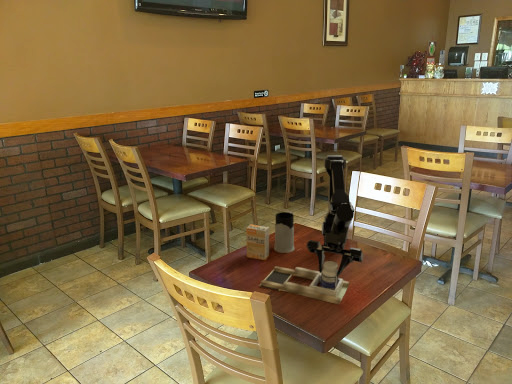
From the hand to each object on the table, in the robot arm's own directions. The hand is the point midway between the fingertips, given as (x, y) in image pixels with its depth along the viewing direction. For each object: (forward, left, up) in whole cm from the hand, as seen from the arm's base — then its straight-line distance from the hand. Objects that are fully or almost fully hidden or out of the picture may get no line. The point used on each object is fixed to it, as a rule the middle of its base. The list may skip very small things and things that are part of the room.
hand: (328, 274), depth 133 cm
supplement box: (-36, -3, -7) cm, 37 cm away
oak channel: (-8, -3, -7) cm, 11 cm away
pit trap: (-18, -8, -7) cm, 21 cm away
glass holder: (-37, +13, -7) cm, 40 cm away
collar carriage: (-2, +1, -7) cm, 7 cm away
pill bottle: (-1, +1, -7) cm, 7 cm away
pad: (0, +2, -7) cm, 7 cm away
